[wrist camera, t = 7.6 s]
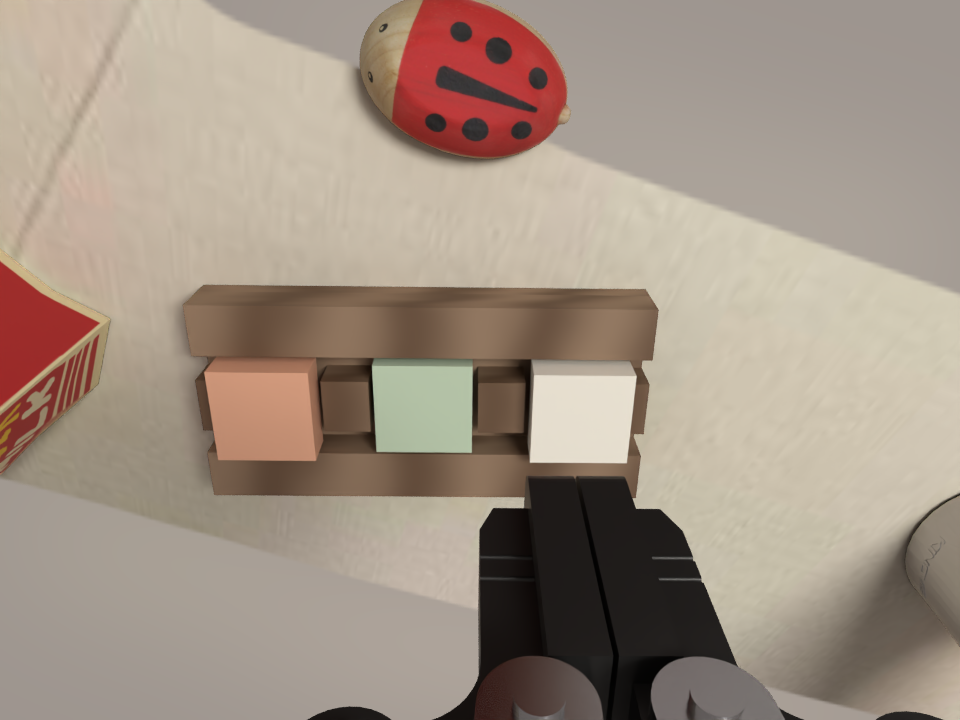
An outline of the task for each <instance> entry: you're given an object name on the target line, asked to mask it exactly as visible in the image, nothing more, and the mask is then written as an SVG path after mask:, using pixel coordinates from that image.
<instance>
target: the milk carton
mask: <svg viewBox="0 0 960 720" xmlns="http://www.w3.org/2000/svg"><path fill="white" fill-rule="evenodd" d="M109 323H110V319H109V318H107V317H105V316H103V315H101V314H99V313H97V312H95V311H93V310H91V309H89V308H87V307H85V306H83V305H81V304H79V303H77V302H75V301H73V300H71V299H69V298H67V297H65V296H63V295H61V294H59V293H57V292H55V291H53V290H52V289H51V288H49V287H48V286H47V285H45V284H44V283H43V282H42V281H40V280H39V279H38V278H37V277H35V276H34V275H33V274H31V273H30V272H29V271H28V270H26V269H25V268H24V267H22V266H21V265H20V264H19V263H17V262H16V261H15V260H14V259H12V258H11V257H10V256H8V255H7V254H6V253H5V252H3V251H2V250H1V249H0V475H1V474H2V473H3V472H4V471H5V470H6V469H7V468H8V467H9V466H10V465H11V464H12V463H13V462H14V461H15V460H16V459H17V458H18V456H19V455H20V454H21V453H22V452H23V451H24V450H25V449H26V448H27V447H28V446H29V445H30V444H31V443H32V442H33V441H34V440H35V439H36V438H37V437H38V436H39V435H40V434H41V433H43V432H44V431H45V430H46V429H47V428H48V427H49V426H51V425H52V424H53V423H54V422H55V421H56V420H57V419H59V418H60V417H61V416H62V415H63V414H64V413H66V412H67V411H68V410H69V409H70V408H71V407H72V406H74V405H75V404H76V403H77V402H78V401H79V400H80V399H82V398H83V397H84V396H85V395H86V394H87V393H89V392H90V391H91V390H92V389H93V388H94V387H95V386H97V385H98V383H99V377H100V372H101V367H102V361H103V356H104V350H105V345H106V339H107V334H108V329H109Z"/></svg>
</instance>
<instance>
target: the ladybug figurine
mask: <svg viewBox="0 0 960 720" xmlns="http://www.w3.org/2000/svg"><path fill="white" fill-rule="evenodd" d="M360 70H361V75H362V78H363V81H364V84H365V87H366V89H367V91H368V93H369V95H370V97H371V99H372V100H373V102H374V103H375V105H376V106H377V107H378V108H379V110H380V111H381V112H382V113H383V114H384V115H385V116H386V117H387V118H388V119H389V120H390V121H391V122H392V123H393V124H394V125H395V126H396V127H397V128H399V129H400V130H401V131H403V132H404V133H406V134H407V135H409V136H411V137H412V138H414V139H416V140H418V141H420V142H422V143H424V144H426V145H428V146H431V147H433V148H436V149H439V150H441V151H444V152H447V153H450V154H454V155H459V156H464V157H470V158H482V159H493V158H503V157H508V156H512V155H516V154H519V153H522V152H524V151H527V150H529V149H531V148H533V147H535V146H536V145H538V144H540V143H541V142H542V141H544V140H545V139H546V138H547V137H548V136H550V135H551V133H553V131H554V130H555V129H556V127H557V126H558V125H559V124H565V123H567V122H568V120H569V118H570V114H571V110H570V108H569V107H568V106H567V105H566V101H567V82H566V77H565V73H564V70H563V67H562V65H561V63H560V61H559V59H558V57H557V55H556V53H555V52H554V50H553V49H552V47H551V46H550V45H549V43H548V42H547V41H546V40H545V39H544V38H543V36H542V35H541V34H540V33H539V32H538V31H537V30H535V29H534V28H533V27H532V26H531V25H530V24H528V23H527V22H526V21H524V20H523V19H521V18H520V17H518V16H517V15H515V14H513V13H511V12H510V11H508V10H506V9H504V8H502V7H500V6H498V5H495V4H493V3H490V2H487V1H485V0H404V1H401V2H399V3H397V4H395V5H393V6H391V7H390V8H388V9H386V10H385V11H384V12H382V13H381V14H380V15H379V16H378V17H377V18H376V19H375V20H374V21H373V22H372V24H371V25H370V27H369V28H368V30H367V31H366V34H365V36H364V39H363V42H362V45H361V51H360Z"/></svg>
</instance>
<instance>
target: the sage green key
mask: <svg viewBox="0 0 960 720" xmlns="http://www.w3.org/2000/svg"><path fill="white" fill-rule="evenodd" d="M472 375H473V359H438V358H374V361H373V364H372V376H373V395H374V413H375V432H376V450H377V452H445V453H472Z"/></svg>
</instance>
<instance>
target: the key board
mask: <svg viewBox="0 0 960 720" xmlns="http://www.w3.org/2000/svg"><path fill="white" fill-rule="evenodd" d="M183 310H184V316H185V322H186V328H187V334H188V340H189V346H190V352H191V356H207V358H208V365H207V366H206V367H205V369H204V370H203V371H202V373H201V374H200V375H199V376H198V378H197V379H196V380H195V382H196V388H197V394H198V400H199V406H200V412H201V418H202V424H203V430H213V424H212V418H211V412H210V405H209V399H208V393H207V387H206V381H205V374H204V372H205V371H206V369H207V368H208V367H209V365H210V364H211V363H212V362H213V360H214V359H215V358H216V356H220V357H316V364H317V376H318V387H319V398H320V409H321V421H322V432H323V443H322V446H321V448H320V451H319V454H318V457H317V459H316V461H264V460H218V455H217V449H216V443H215V441H214V443H213V444H212V446H211V447H210V449H209V451H208V452H207V454H208V460H209V466H210V472H211V478H212V484H213V490H214V495H293V496H430V497H525V482H526V476H574V478H576V476H624V477H625V478H626V481H627V483H628V486H629V489H630V492H631V496H632V498H636V491H637V483H638V475H639V466H640V458H641V455H640V453H639V450H638V447H637V445H636V442H635V439H634V437H633V436H634V434H644V425H645V417H646V409H647V401H648V393H649V383H648V380H647V378H646V376H645V374H644V372H643V370H642V368H641V367H642V360H653V352H654V343H655V335H656V327H657V319H658V311H659V310H658V308H657V307H656V305H655V303H654V302H653V300H652V299H651V297H650V296H649V294H648V292H647V291H646V289H550V288H452V287H353V286H255V285H203V286H202V287H201V288H200V289H199V290H198V291H197V292H196V293H195V294H194V295H193V296H192V297H191V298H190V299H189V300H188V301H187V302H186V303H185V304H183ZM374 358H438V359H473V375H472V453H445V452H377V450H376V432H375V413H374V395H373V376H372V364H373V361H374ZM531 359H547V360H630V363H631V365H632V367H633V369H634V371H635V374H636V376H637V378H636V386H635V395H634V404H633V413H632V422H631V431H630V439H629V448H628V457H627V463H530V459H529V451H528V443H527V441H528V420H529V398H530V376H531Z"/></svg>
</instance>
